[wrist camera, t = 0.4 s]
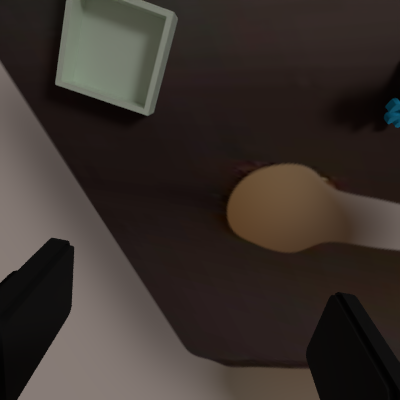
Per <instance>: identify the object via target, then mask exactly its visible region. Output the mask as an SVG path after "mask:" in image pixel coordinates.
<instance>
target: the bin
mask: <svg viewBox="0 0 400 400" xmlns="http://www.w3.org/2000/svg"><path fill="white" fill-rule="evenodd" d="M177 21H178V18H177V16H176V15H175V13H174V12H172V11H170V10H167V9H164V8H161V7H159V6H156V5H153V4H151V3H148V2H145V1H142V0H66V6H65V14H64V21H63V29H62V36H61V44H60V51H59V59H58V66H57V74H56V81H55V85H58V86H61V87H64V88H67V89H70V90H73V91H75V92H78V93H81V94H84V95H87V96H90V97H93V98H96V99H99V100H102V101H105V102H108V103H111V104H114V105H117V106H120V107H123V108H126V109H129V110H132V111H135V112H138V113H141V114H144V115H147V116H149V115H150V114H152V113H154V109H155V106H156V102H157V98H158V94H159V90H160V86H161V82H162V79H163V75H164V71H165V67H166V63H167V59H168V55H169V51H170V48H171V44H172V40H173V36H174V32H175V28H176V24H177Z"/></svg>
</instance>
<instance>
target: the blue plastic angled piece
mask: <svg viewBox="0 0 400 400" xmlns="http://www.w3.org/2000/svg"><path fill="white" fill-rule="evenodd" d="M385 107H386V109H387V110H388V111H389V112H387V113H386V114H385V115H384V120H385V121H386V122H387V124H390V123H393V124H394V126H395V127H397V128H398V127H400V101H399V100H398V98H393V99H392V100H390V101H389V102H388V104H387V105H386V106H385Z"/></svg>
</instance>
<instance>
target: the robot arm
mask: <svg viewBox="0 0 400 400" xmlns="http://www.w3.org/2000/svg"><path fill="white" fill-rule="evenodd" d="M73 264H74V247H73V246H70V243H69V241H66V240H61V239H56V238H51V239H49V240H48V241H47V242H46V243H45V244H44V245H43V246H42V247H41V248H40V249H39V250H38V251H37V252H36V253H35V254H34V255H33V256H32V257H31V258H30V259H29V260H28V261H27V262H26V263H25V264H24V265H23V266H22V267H21V268H20V269H19V270H18V271H13V272H12V273H11V274H9V275H8V276H7V277H6V278H5V279H4V280H3V281H2V282H1V283H0V400H17V399H18V397H19V396H20V394H21V393H22V391H23V389H24V388H25V386H26V384H27V383H28V381H29V379H30V378H31V376H32V375H33V373H34V371H35V370H36V368H37V366H38V365H39V363H40V361H41V360H42V358H43V356H44V355H45V353H46V352H47V350H48V348H49V347H50V345H51V343H52V342H53V340H54V339H55V337H56V335H57V334H58V332H59V330H60V329H61V327H62V325H63V324H64V322H65V321H66V319H67V317H68V315H69V313H70V310H71V306H72V305H71V304H72V286H73ZM306 358H307V362H308V365H309V368H310V371H311V374H312V376H313V380H314V383H315V386H316V389H317V392H318V394H319V398H320V400H400V363H399V361H398V360H397V358H396V356H395V355H394V353H393V352H392V350H391V349H390V347H389V346H388V344H387V343H386V341H385V340H384V338H383V337H382V335H381V334H380V332H379V331H378V329H377V328H376V326H375V325H374V323H373V321H372V320H371V318H370V317H369V315H368V314H367V312H366V311H365V309H364V308H363V306H362V305H361V303H360V302H359V300H358V299H357V297H356V296H355V295H351V294H346V293H341V292H337V293H336V294H335V295H331V296H330V298H329V300H328V302H327V304H326V307H325V309H324V311H323V313H322V316H321V318H320V320H319V323H318V325H317V327H316V329H315V332H314V334H313V336H312V338H311V341H310V343H309V345H308V347H307V351H306Z"/></svg>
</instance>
